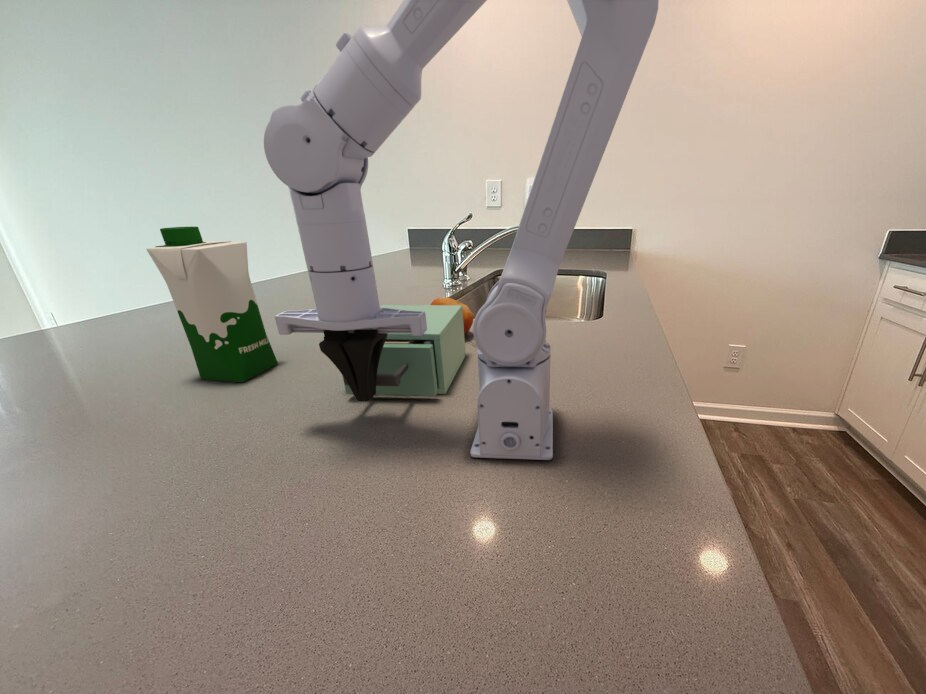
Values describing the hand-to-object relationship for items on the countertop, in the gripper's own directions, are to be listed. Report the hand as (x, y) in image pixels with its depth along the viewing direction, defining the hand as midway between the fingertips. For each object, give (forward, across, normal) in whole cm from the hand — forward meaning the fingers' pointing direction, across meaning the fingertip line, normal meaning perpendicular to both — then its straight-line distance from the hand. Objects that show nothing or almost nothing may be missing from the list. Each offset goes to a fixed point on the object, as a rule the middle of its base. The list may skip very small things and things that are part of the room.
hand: (366, 397), depth 44 cm
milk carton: (+4, +26, -14) cm, 30 cm away
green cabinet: (+4, 0, -15) cm, 16 cm away
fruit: (+4, -2, -31) cm, 32 cm away
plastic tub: (+2, 0, -11) cm, 11 cm away
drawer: (+3, 0, -10) cm, 10 cm away
